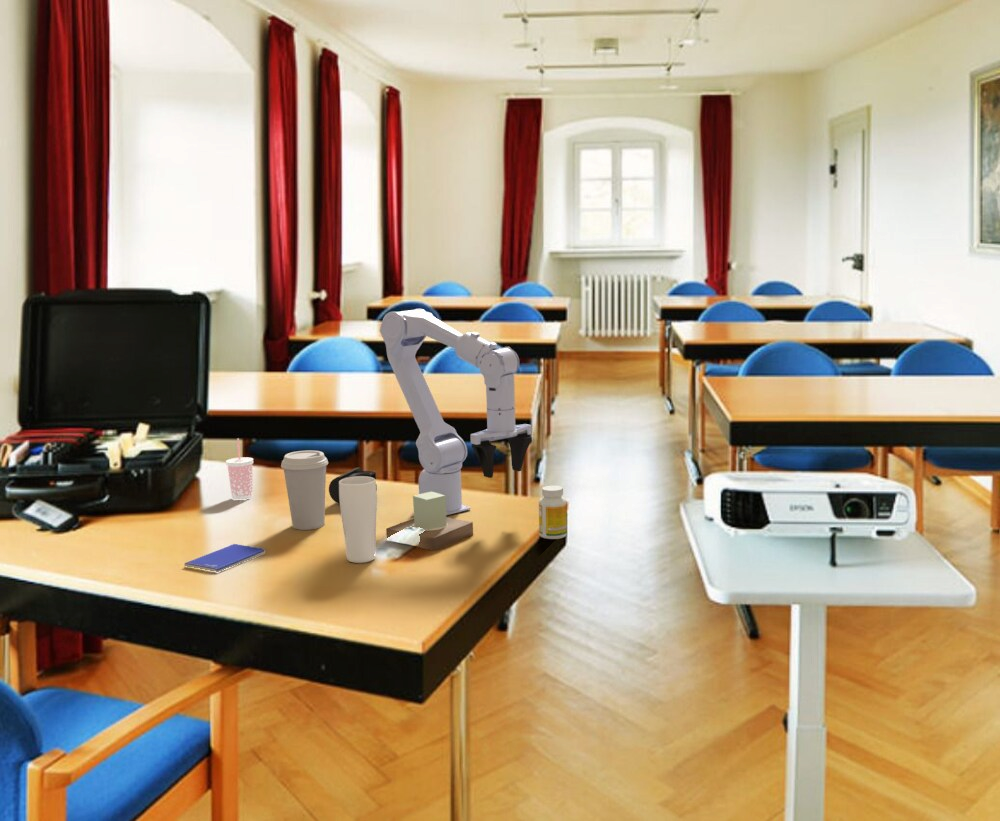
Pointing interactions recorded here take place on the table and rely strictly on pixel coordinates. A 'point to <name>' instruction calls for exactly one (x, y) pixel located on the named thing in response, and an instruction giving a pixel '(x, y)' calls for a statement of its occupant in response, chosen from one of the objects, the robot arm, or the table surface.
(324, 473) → the coffee cup
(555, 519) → the supplement bottle
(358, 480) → the drinking glass
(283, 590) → the table surface
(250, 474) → the beverage cup
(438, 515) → the block
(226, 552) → the blue notebook
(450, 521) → the plinth
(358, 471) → the end cap
